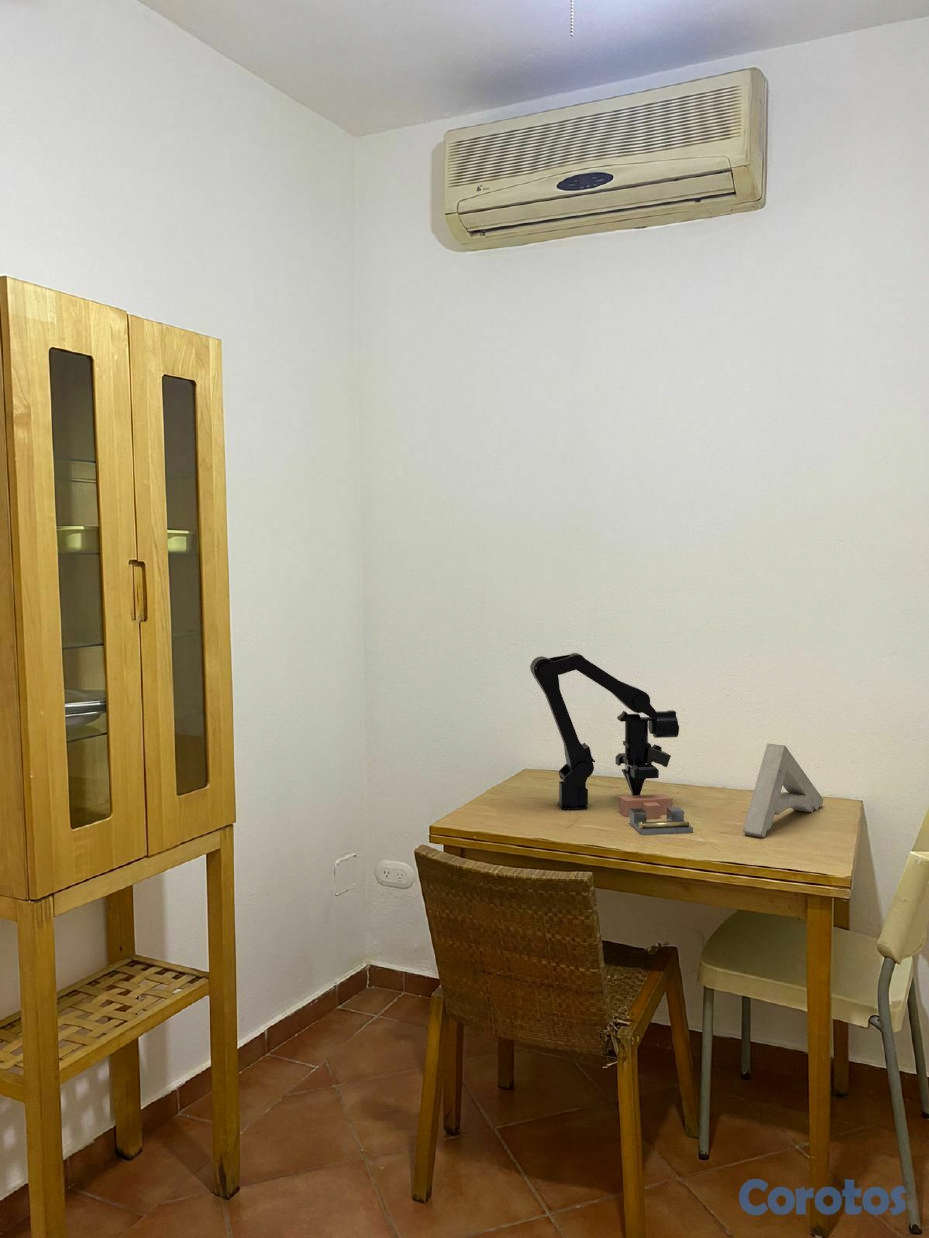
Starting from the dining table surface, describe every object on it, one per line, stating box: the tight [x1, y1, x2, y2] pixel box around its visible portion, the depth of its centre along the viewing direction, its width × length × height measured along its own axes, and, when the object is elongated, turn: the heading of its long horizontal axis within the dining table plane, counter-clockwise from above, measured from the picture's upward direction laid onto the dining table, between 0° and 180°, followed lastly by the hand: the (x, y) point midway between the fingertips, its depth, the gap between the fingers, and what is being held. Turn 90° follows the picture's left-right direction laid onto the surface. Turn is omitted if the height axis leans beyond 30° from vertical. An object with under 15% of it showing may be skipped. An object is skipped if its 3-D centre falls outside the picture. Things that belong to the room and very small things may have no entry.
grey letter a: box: [742, 743, 824, 839], centre depth 236 cm, size 22×4×30 cm
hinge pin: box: [639, 821, 690, 829], centre depth 226 cm, size 12×2×2 cm, turn 96°
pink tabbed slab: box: [618, 793, 674, 820], centre depth 242 cm, size 12×8×4 cm, turn 100°
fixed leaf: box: [629, 806, 694, 836], centre depth 230 cm, size 12×10×4 cm
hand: (636, 798), depth 251 cm, fingers closed
